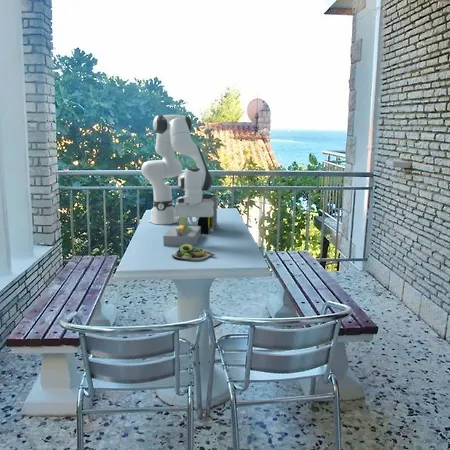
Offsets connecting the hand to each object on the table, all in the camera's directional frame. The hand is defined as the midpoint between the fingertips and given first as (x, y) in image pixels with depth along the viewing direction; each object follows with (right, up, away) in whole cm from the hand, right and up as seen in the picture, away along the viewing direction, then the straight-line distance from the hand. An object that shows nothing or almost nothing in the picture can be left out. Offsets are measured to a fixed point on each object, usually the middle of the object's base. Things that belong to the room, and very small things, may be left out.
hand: (194, 225), depth 240 cm
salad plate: (0, -15, -22) cm, 27 cm away
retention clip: (-7, -4, 0) cm, 8 cm away
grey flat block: (-6, -8, +7) cm, 12 cm away
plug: (-6, -6, +8) cm, 12 cm away
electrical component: (+5, -3, +28) cm, 29 cm away
